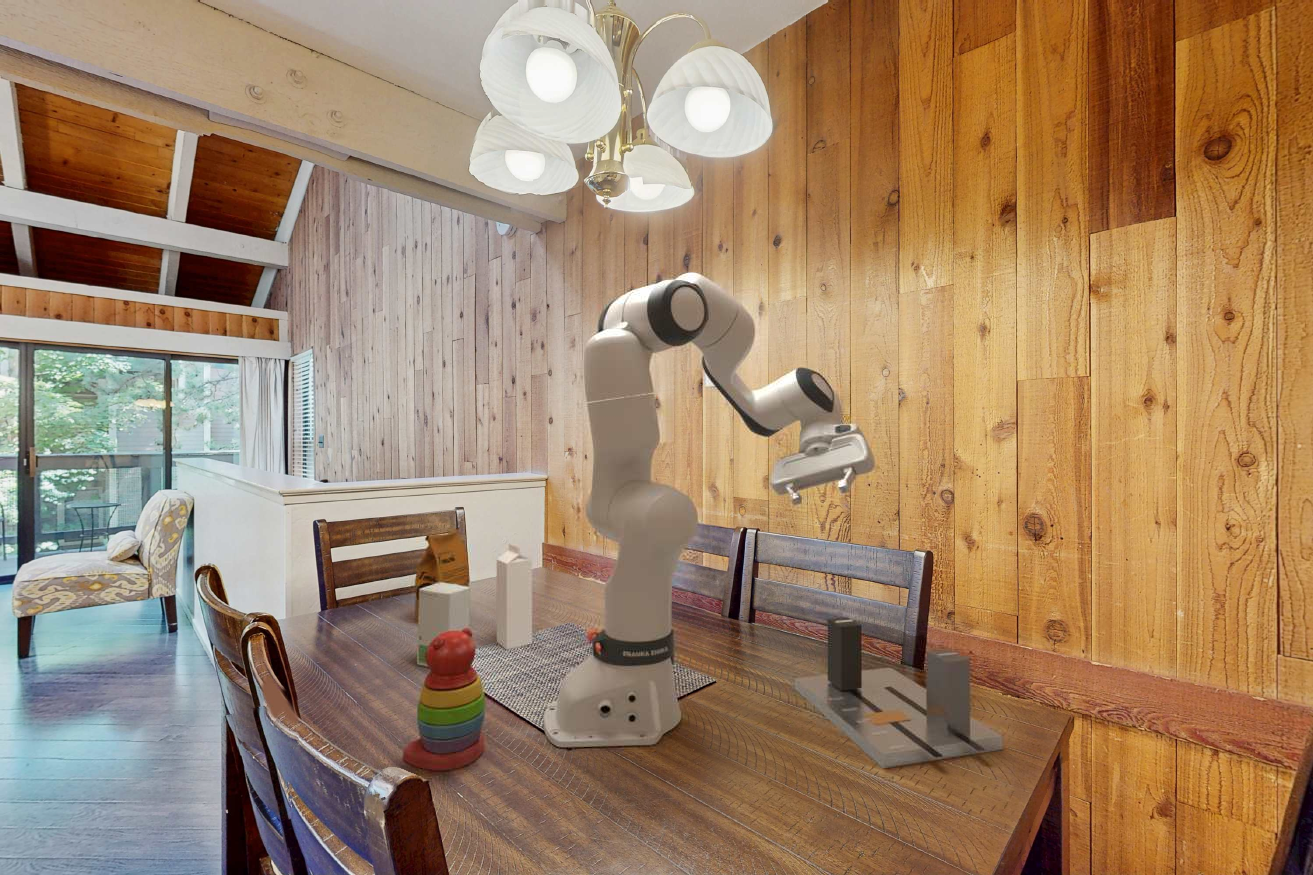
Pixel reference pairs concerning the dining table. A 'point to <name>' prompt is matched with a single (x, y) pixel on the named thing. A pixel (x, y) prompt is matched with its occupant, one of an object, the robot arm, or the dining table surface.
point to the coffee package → (442, 563)
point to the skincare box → (441, 613)
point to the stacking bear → (449, 706)
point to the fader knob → (844, 653)
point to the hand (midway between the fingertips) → (819, 496)
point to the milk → (514, 599)
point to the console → (906, 712)
